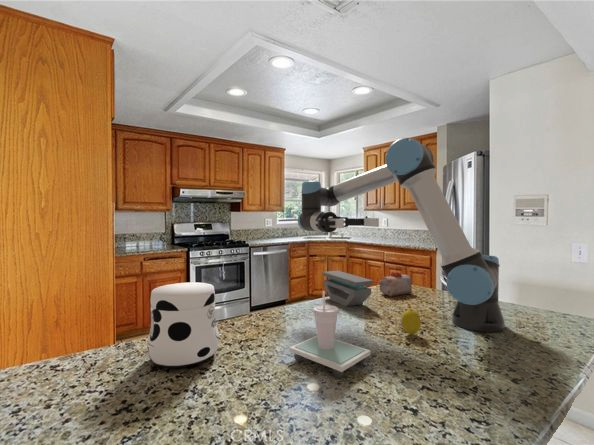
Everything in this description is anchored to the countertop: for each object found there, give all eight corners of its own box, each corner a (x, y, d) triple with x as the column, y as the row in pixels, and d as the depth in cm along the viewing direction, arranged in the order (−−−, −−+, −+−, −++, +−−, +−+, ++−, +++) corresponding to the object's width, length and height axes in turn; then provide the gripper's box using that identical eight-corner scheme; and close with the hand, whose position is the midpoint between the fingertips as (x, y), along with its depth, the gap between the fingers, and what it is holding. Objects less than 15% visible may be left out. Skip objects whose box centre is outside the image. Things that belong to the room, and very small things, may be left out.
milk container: (232, 350, 89) (231, 284, 88) (186, 380, 73) (184, 300, 73) (183, 340, 96) (182, 279, 96) (131, 365, 81) (130, 292, 80)
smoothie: (311, 342, 85) (311, 288, 85) (336, 341, 86) (336, 287, 85) (315, 352, 79) (314, 294, 78) (341, 351, 79) (341, 293, 79)
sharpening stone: (373, 308, 128) (373, 280, 127) (356, 311, 124) (356, 282, 124) (337, 294, 150) (337, 270, 150) (322, 296, 147) (322, 271, 146)
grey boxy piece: (390, 297, 143) (390, 275, 143) (378, 293, 151) (378, 272, 150) (413, 294, 149) (413, 272, 149) (401, 290, 156) (401, 270, 156)
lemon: (422, 339, 96) (422, 312, 96) (402, 338, 97) (402, 311, 97) (419, 332, 102) (419, 306, 101) (400, 331, 103) (400, 305, 103)
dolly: (370, 364, 81) (370, 349, 81) (341, 382, 72) (341, 366, 72) (319, 346, 92) (319, 333, 91) (289, 360, 83) (289, 346, 83)
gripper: (352, 230, 127) (391, 233, 108) (294, 233, 115) (326, 236, 97) (352, 211, 127) (391, 210, 108) (293, 211, 115) (326, 211, 96)
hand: (360, 222), depth 102 cm, fingers open, 13 cm apart
